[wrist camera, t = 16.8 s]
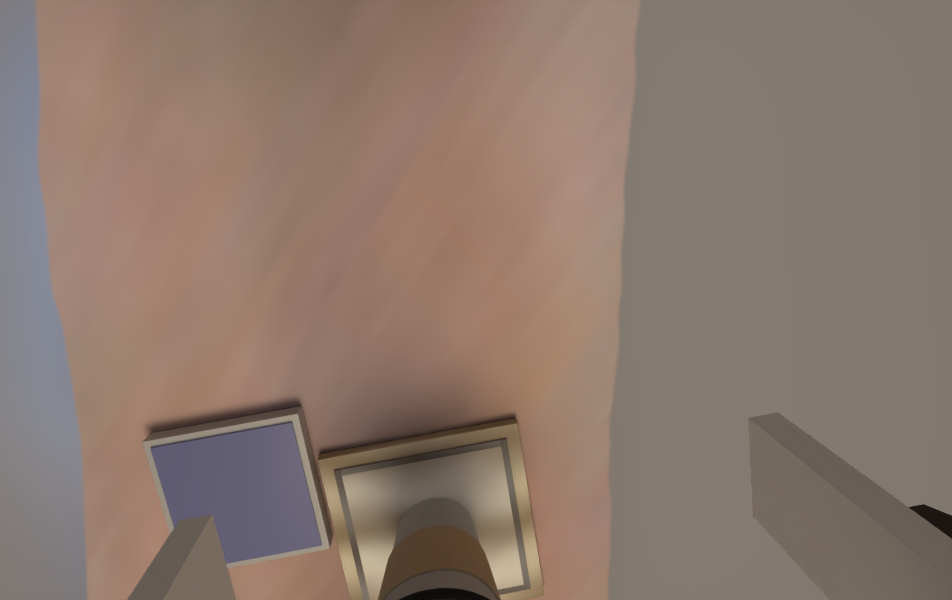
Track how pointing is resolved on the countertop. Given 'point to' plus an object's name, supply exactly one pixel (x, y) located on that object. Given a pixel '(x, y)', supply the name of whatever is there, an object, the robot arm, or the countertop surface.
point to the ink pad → (244, 484)
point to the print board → (434, 476)
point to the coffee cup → (437, 556)
